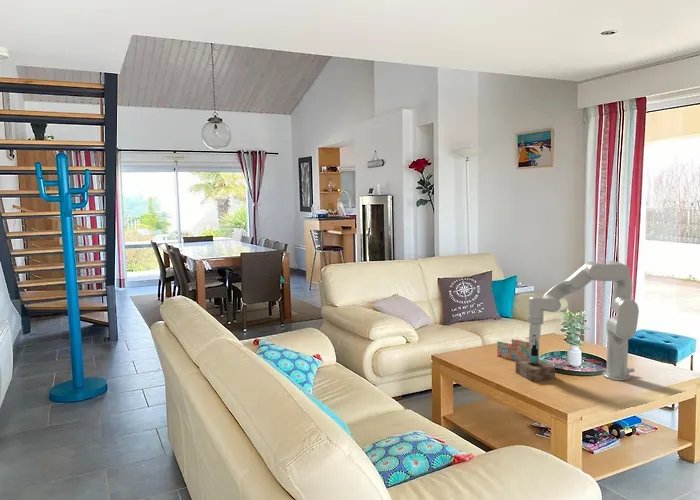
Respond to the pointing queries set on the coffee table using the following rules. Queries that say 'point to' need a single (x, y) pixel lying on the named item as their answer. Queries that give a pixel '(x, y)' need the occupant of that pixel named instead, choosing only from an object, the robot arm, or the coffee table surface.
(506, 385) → the coffee table surface
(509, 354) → the stack of blocks
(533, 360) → the peg
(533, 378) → the socket block
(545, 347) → the coffee table surface
